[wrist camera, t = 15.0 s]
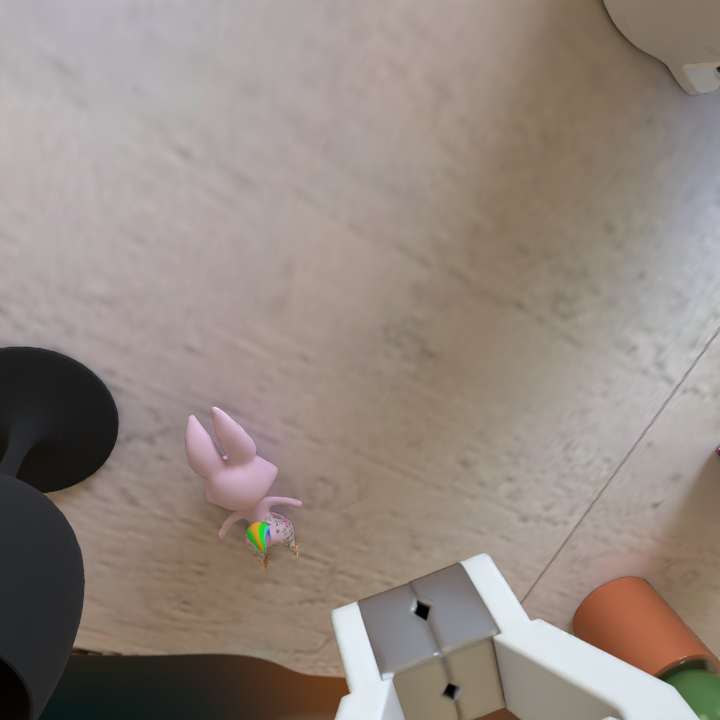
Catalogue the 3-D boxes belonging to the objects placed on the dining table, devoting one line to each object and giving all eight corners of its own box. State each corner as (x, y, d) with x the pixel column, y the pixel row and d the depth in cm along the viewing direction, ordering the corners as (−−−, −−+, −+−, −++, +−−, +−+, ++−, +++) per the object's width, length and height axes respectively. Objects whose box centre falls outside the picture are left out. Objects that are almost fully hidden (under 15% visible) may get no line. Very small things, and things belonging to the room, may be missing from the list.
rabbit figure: (313, 518, 48) (246, 377, 39) (331, 581, 43) (260, 437, 34) (238, 549, 47) (152, 413, 38) (249, 616, 43) (154, 479, 34)
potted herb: (653, 563, 59) (811, 729, 44) (654, 624, 63) (798, 795, 48) (569, 597, 58) (701, 778, 43) (575, 657, 62) (698, 841, 47)
